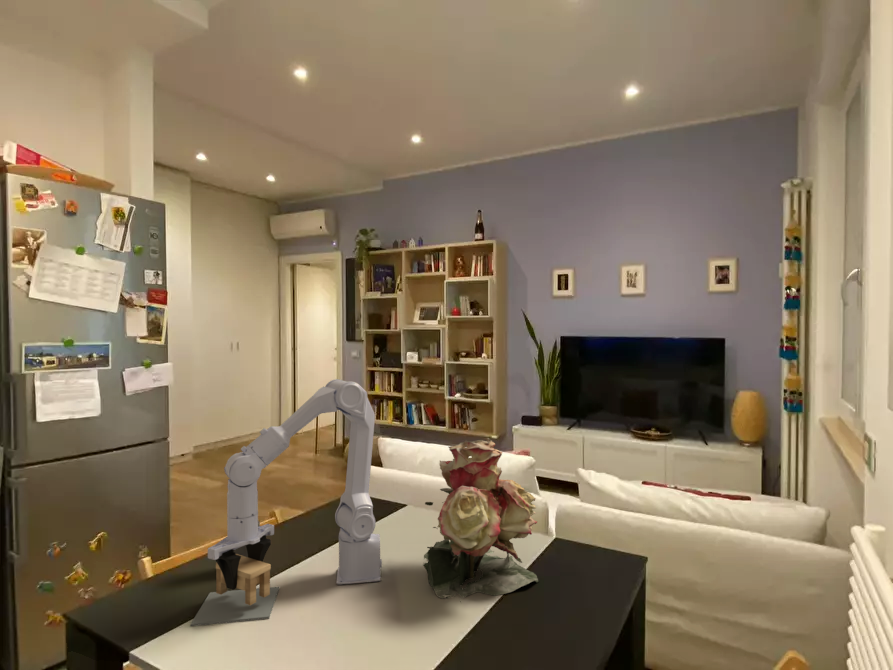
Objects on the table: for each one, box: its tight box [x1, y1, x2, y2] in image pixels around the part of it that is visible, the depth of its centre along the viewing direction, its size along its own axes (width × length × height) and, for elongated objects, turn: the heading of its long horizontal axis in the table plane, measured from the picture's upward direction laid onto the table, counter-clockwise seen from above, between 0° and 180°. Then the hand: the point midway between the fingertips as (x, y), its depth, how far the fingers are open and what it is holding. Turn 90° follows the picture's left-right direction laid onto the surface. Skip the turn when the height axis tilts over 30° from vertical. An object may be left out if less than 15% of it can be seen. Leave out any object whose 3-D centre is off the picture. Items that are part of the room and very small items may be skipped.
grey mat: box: [190, 586, 280, 627], centre depth 102 cm, size 14×12×1 cm
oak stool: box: [215, 554, 272, 605], centre depth 102 cm, size 10×5×6 cm, turn 62°
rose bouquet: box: [422, 437, 540, 603], centre depth 116 cm, size 26×29×30 cm
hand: (243, 582), depth 102 cm, fingers closed on oak stool, 5 cm apart
